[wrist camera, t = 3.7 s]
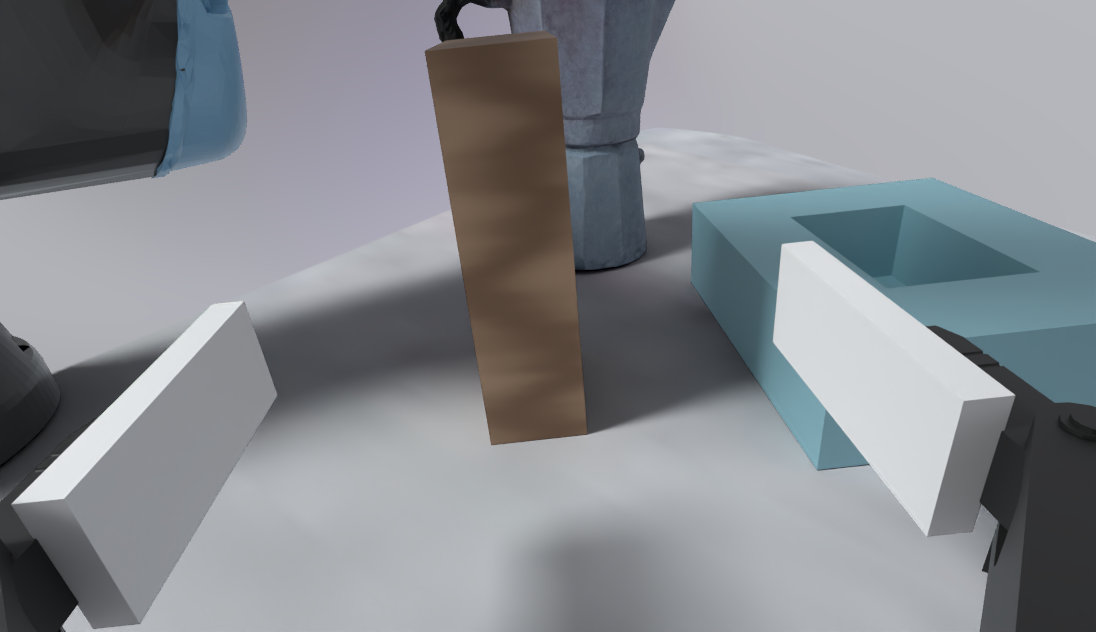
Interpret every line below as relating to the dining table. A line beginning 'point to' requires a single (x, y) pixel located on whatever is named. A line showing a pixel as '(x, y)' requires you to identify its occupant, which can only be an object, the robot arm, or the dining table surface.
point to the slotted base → (904, 285)
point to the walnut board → (513, 227)
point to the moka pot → (594, 110)
